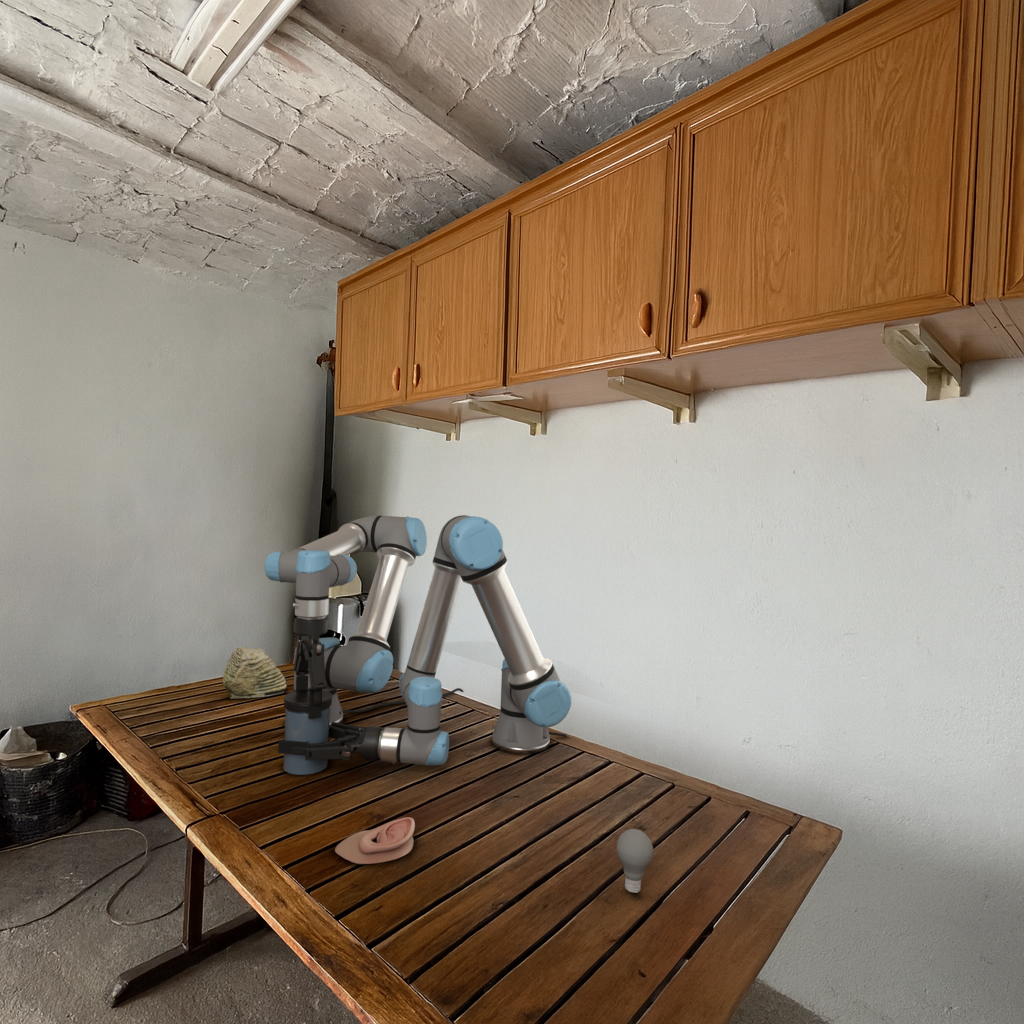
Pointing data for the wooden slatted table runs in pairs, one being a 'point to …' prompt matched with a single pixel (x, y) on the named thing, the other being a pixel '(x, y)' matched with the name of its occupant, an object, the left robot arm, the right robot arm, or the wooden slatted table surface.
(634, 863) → the light bulb
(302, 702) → the lid
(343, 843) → the anatomical model
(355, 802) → the wooden slatted table surface
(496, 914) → the wooden slatted table surface
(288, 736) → the jar
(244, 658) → the fossil
